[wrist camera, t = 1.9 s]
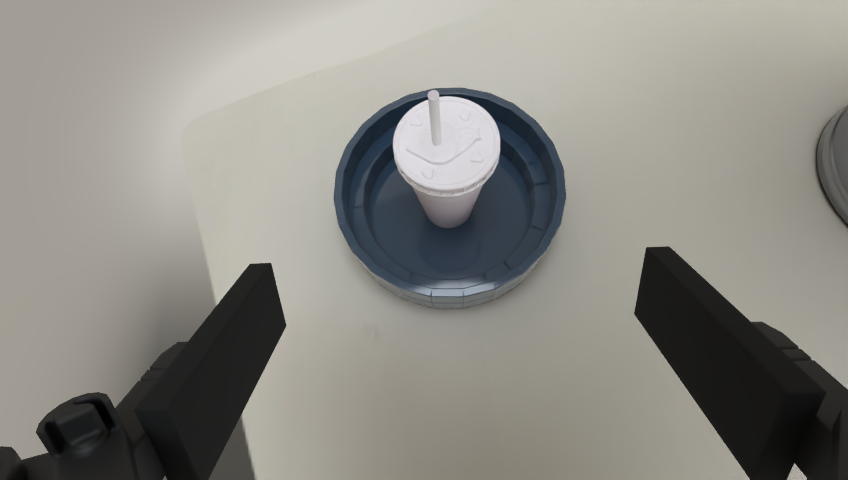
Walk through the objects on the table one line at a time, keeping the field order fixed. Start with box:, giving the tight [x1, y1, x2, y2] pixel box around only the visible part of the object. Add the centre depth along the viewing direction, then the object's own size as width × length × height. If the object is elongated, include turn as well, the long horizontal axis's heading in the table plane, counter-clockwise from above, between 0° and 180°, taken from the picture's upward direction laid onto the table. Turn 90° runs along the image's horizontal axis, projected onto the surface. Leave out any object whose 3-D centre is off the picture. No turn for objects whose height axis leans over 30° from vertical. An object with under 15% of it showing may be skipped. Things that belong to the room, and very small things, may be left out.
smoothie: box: [393, 90, 500, 228], centre depth 28 cm, size 6×6×14 cm
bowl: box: [334, 88, 566, 308], centre depth 33 cm, size 16×16×4 cm
